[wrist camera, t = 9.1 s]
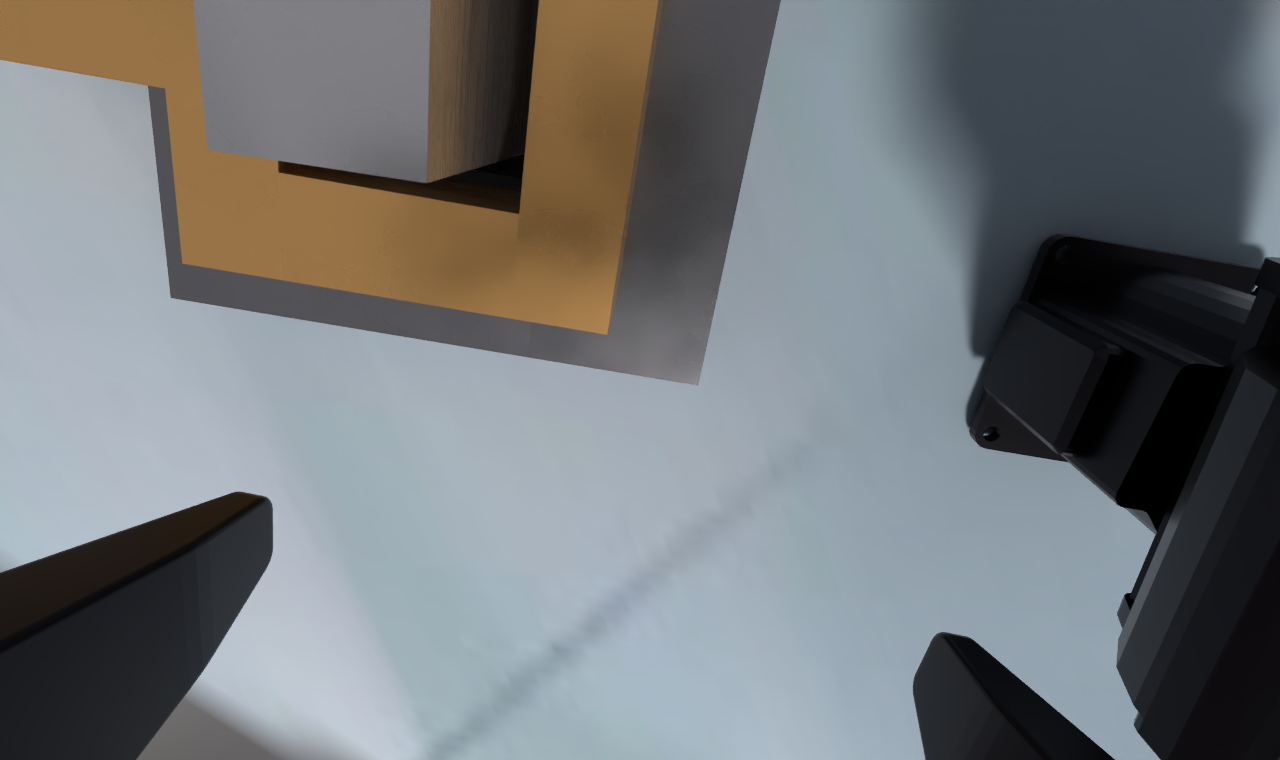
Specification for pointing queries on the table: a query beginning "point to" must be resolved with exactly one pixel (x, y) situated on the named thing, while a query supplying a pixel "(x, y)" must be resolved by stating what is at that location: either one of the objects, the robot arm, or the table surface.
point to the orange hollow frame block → (468, 187)
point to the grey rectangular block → (368, 82)
